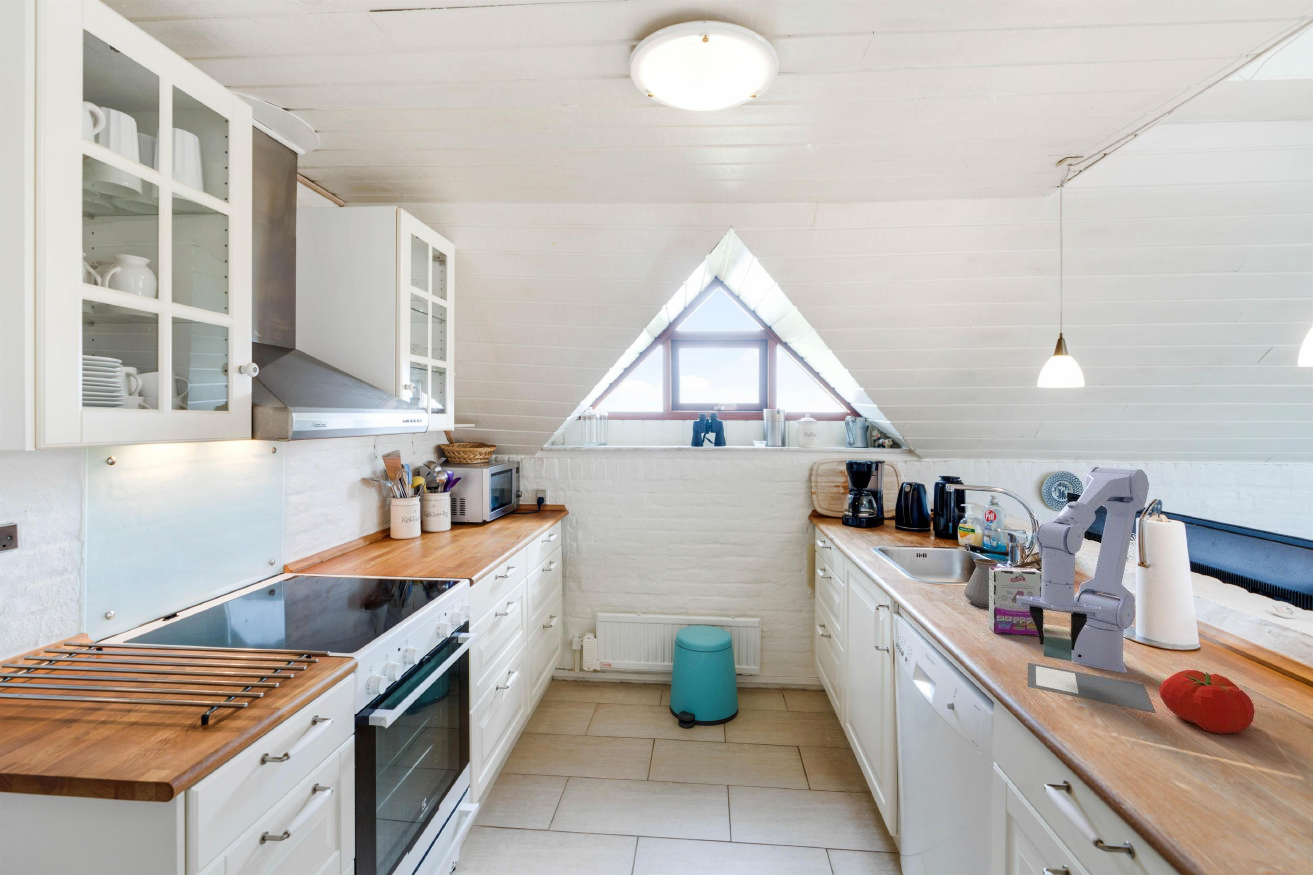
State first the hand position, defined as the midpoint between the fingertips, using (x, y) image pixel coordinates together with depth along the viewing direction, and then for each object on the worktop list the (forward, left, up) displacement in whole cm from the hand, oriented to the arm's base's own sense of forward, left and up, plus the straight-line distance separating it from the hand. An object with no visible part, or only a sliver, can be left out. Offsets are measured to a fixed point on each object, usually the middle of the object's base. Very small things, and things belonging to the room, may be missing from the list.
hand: (1056, 645), depth 121 cm
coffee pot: (-11, +53, -8) cm, 55 cm away
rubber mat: (+5, 0, -8) cm, 9 cm away
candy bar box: (-8, +29, -8) cm, 31 cm away
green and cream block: (0, 0, -1) cm, 1 cm away
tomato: (+22, -6, -8) cm, 24 cm away
